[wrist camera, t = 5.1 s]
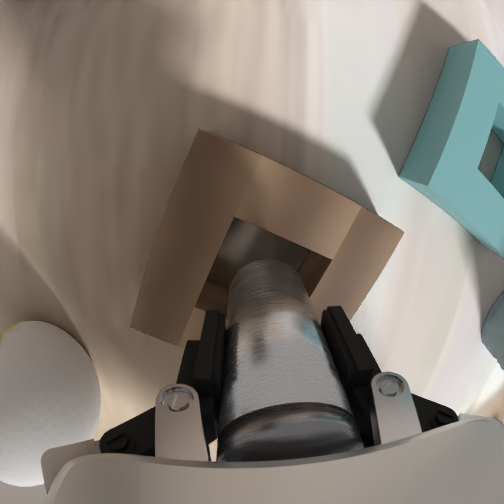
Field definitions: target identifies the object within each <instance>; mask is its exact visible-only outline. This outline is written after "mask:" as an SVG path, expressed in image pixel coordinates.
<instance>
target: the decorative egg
mask: <svg viewBox="0 0 504 504" xmlns="http://www.w3.org/2000/svg"><path fill="white" fill-rule="evenodd" d="M100 407H101V394H100V386H99V381H98V377H97V373H96V370H95V367H94V365H93V363H92V361H91V359H90V357H89V356H88V354H87V353H86V351H85V350H84V349H83V347H82V346H81V345H80V344H79V343H78V342H77V341H76V340H75V339H74V338H73V337H72V336H70V335H69V334H68V333H67V332H65V331H64V330H62V329H60V328H59V327H57V326H55V325H52V324H50V323H47V322H42V321H22V322H17V323H13V324H11V325H8V326H6V327H4V328H2V329H1V330H0V481H3V482H5V483H7V484H11V485H15V486H23V487H26V486H35V485H40V484H44V478H43V473H42V468H41V457H42V455H43V453H44V452H45V451H46V450H48V449H51V448H55V447H60V446H65V445H69V444H74V443H78V442H82V441H86V440H90V439H92V438H93V436H94V434H95V431H96V428H97V424H98V421H99V416H100Z"/></svg>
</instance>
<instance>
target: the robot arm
mask: <svg viewBox="0 0 504 504" xmlns="http://www.w3.org/2000/svg"><path fill="white" fill-rule="evenodd" d="M320 326H321V329H322V332H323V334H324V337H325V339H326V342H327V345H328V347H329V350H330V353H331V355H332V358H333V361H334V363H335V366H336V369H337V371H338V374H339V377H340V379H341V382H342V385H343V388H344V391H345V393H346V396H347V399H348V402H349V405H350V407H351V410H352V413H353V416H354V419H355V422H356V425H357V428H358V430H359V433H360V436H361V439H362V442H363V445H364V448H363V449H359V450H354V451H348V452H343V453H337V454H331V455H325V456H318V457H310V458H301V459H291V460H278V461H260V462H213V461H212V458H211V452H210V446H209V444H210V443H211V442H213V441H214V440H215V439H217V437H218V426H219V411H220V402H221V391H222V377H223V363H224V350H225V338H226V322H225V313H220V310H206V313H205V318H204V323H203V328H202V333H201V338H200V340H188V341H187V343H186V346H185V350H184V354H183V358H182V362H181V366H180V370H179V374H178V379H177V383H176V384H172V385H169V386H166V387H164V388H163V389H162V390H160V391H159V393H158V394H157V397H156V406H155V407H153V408H151V409H149V410H147V411H146V412H144V413H142V414H140V415H138V416H136V417H134V418H132V419H130V420H128V421H126V422H124V423H122V424H120V425H118V426H116V427H114V428H112V429H110V430H109V431H107V432H106V433H104V435H103V436H102V437H101V439H100V440H98V441H94V439H90V440H86V441H82V442H78V443H74V444H69V445H65V446H60V447H55V448H51V449H48V450H46V451H45V452H44V453H43V455H42V457H41V468H42V473H43V478H44V483H45V487H46V491H47V497H46V500H45V502H44V504H504V425H503V423H502V422H501V421H500V420H498V419H496V418H490V417H482V416H474V415H468V414H461V413H460V414H459V416H457V415H456V413H455V412H454V411H453V410H452V409H450V408H448V407H446V406H444V405H441V404H438V403H435V402H433V401H430V400H427V399H425V398H422V397H420V396H417V395H414V394H412V393H411V392H410V389H409V386H408V383H407V381H406V380H405V379H404V378H403V377H402V376H400V375H399V374H396V373H393V372H381V370H380V368H379V366H378V364H377V362H376V361H375V359H374V357H373V355H372V353H371V351H370V349H369V348H368V346H367V344H366V342H365V340H364V338H363V337H362V335H361V334H356V332H355V330H354V329H353V327H352V325H351V323H350V321H349V319H348V317H347V316H346V314H345V312H344V310H343V308H342V307H341V306H328V307H327V309H326V310H323V312H322V318H321V325H320Z"/></svg>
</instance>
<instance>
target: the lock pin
mask: <svg viewBox="0 0 504 504" xmlns="http://www.w3.org/2000/svg"><path fill="white" fill-rule="evenodd" d="M363 448H364V445H363V442H362V439H361V436H360V433H359V430H358V428H357V425H356V422H355V419H354V416H353V413H352V410H351V407H350V405H349V402H348V399H347V396H346V393H345V391H344V388H343V385H342V382H341V379H340V377H339V374H338V371H337V369H336V366H335V363H334V361H333V358H332V355H331V353H330V350H329V347H328V345H327V342H326V339H325V337H324V334H323V332H322V329H321V326H320V324H319V321H318V319H317V316H316V314H315V311H314V309H313V306H312V303H311V301H310V298H309V296H308V293H307V291H306V288H305V286H304V284H303V281H302V279H301V277H300V275H299V273H298V272H297V271H296V270H295V269H294V268H293V267H292V266H290V265H289V264H287V263H285V262H282V261H279V260H274V259H262V260H257V261H254V262H251V263H249V264H247V265H246V266H244V267H243V268H241V269H240V270H239V271H238V272H237V273H236V275H235V276H234V278H233V279H232V282H231V284H230V288H229V298H228V309H227V321H226V338H225V350H224V363H223V377H222V391H221V402H220V411H219V426H218V442H217V459H216V462H260V461H278V460H291V459H301V458H310V457H318V456H325V455H331V454H337V453H343V452H348V451H354V450H359V449H363Z"/></svg>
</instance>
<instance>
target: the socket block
mask: <svg viewBox="0 0 504 504" xmlns="http://www.w3.org/2000/svg"><path fill="white" fill-rule="evenodd" d="M491 129H492V130H493V131H494V132H495V133H496V135H497V136H498V137H499V138H500V140H501V141H502V142H503V144H504V68H503V66H502V65H501V64H500V63H499V61H498V60H497V59H496V58H495V57H494V55H493V54H492V53H491V52H490V51H489V50H488V49H487V48H486V46H485V45H484V44H483V43H482V42H481V41H480V40H479V39H477V40H473V41H469V42H466V43H462V44H459V45H455V46H452V47H450V48H449V51H448V54H447V58H446V61H445V64H444V67H443V70H442V73H441V75H440V78H439V81H438V84H437V87H436V89H435V92H434V95H433V97H432V100H431V103H430V105H429V108H428V110H427V113H426V115H425V118H424V120H423V123H422V125H421V128H420V130H419V132H418V135H417V137H416V139H415V142H414V144H413V146H412V148H411V151H410V153H409V155H408V157H407V159H406V161H405V164H404V166H403V168H402V170H401V172H400V174H399V176H398V177H400V178H401V179H402V180H404V181H405V182H407V183H408V184H409V185H411V186H412V187H414V188H415V189H416V190H418V191H419V192H420V193H422V194H423V195H424V196H426V197H427V198H428V199H430V200H431V201H432V202H433V203H435V204H436V205H437V206H439V207H440V208H441V209H442V210H444V211H445V212H446V213H447V214H448V215H450V216H451V217H452V218H453V219H454V220H456V221H457V222H458V223H459V224H460V225H461V226H463V227H464V228H465V229H466V230H467V231H468V232H469V233H471V234H472V235H473V236H474V237H475V238H476V239H477V240H478V241H479V242H480V243H481V244H483V245H484V246H485V247H486V248H488V249H489V250H491V251H493V252H494V253H496V254H497V255H499V256H501V257H502V258H504V145H503V149H502V152H501V155H500V158H499V161H498V164H497V166H496V169H495V172H494V175H493V177H492V180H491V183H490V182H489V181H488V180H487V178H486V177H485V176H484V175H483V174H482V173H481V172H480V171H479V170H478V166H479V163H480V161H481V158H482V155H483V153H484V150H485V147H486V144H487V141H488V138H489V135H490V132H491Z"/></svg>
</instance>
